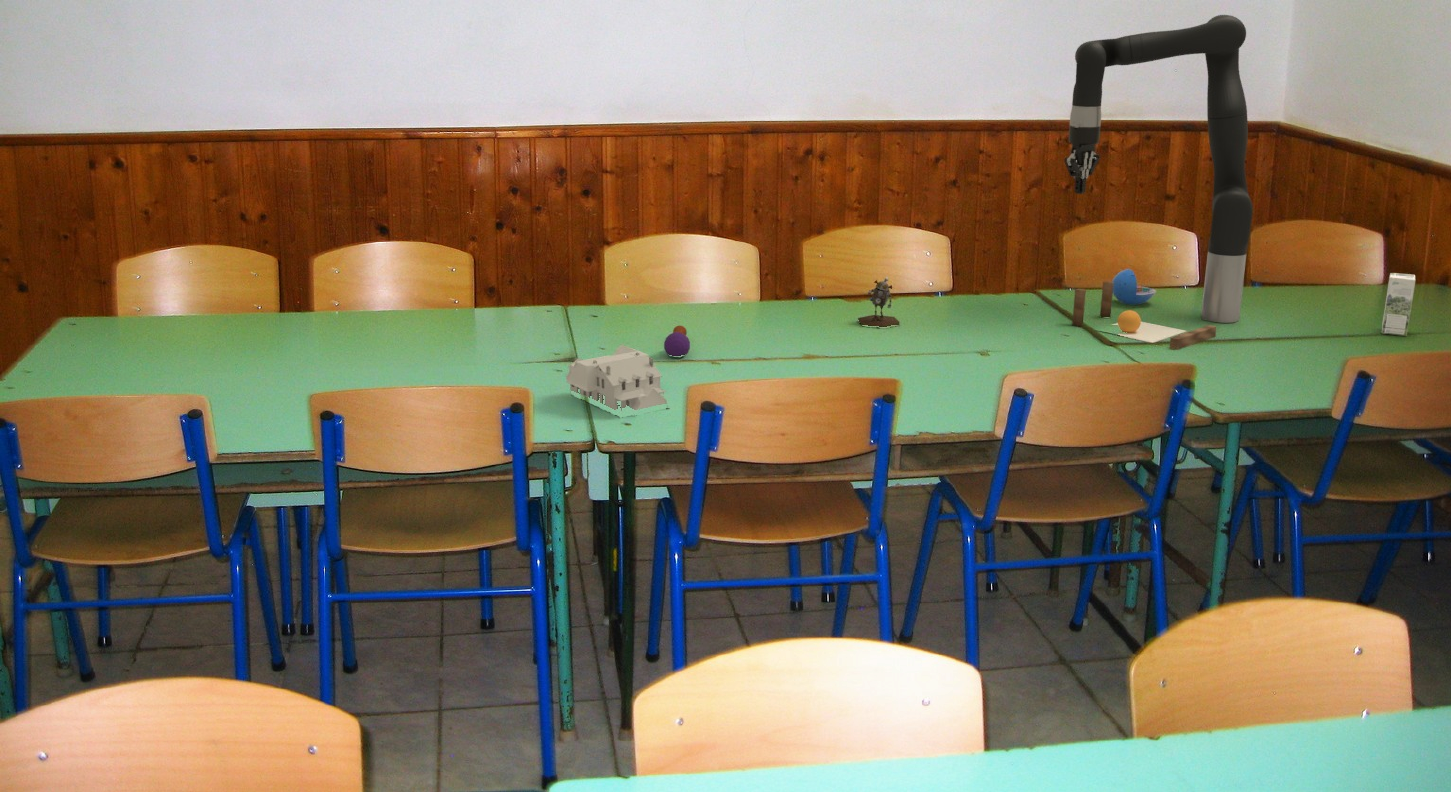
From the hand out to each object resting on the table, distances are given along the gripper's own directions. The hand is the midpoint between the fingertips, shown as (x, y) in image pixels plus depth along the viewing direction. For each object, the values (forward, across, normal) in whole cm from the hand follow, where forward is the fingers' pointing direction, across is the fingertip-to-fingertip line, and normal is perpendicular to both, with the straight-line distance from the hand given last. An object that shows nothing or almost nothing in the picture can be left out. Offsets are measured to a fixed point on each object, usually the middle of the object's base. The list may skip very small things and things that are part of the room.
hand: (1079, 193), depth 352 cm
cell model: (+31, -20, +6) cm, 38 cm away
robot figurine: (+31, +46, -26) cm, 61 cm away
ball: (+28, +7, +22) cm, 36 cm away
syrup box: (+31, -41, +66) cm, 84 cm away
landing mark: (+31, +4, +23) cm, 39 cm away
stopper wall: (+31, +4, +37) cm, 48 cm away
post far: (+31, -2, +9) cm, 32 cm away
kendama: (+32, +99, -42) cm, 112 cm away
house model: (+32, +134, -19) cm, 138 cm away
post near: (+31, +10, +9) cm, 34 cm away
